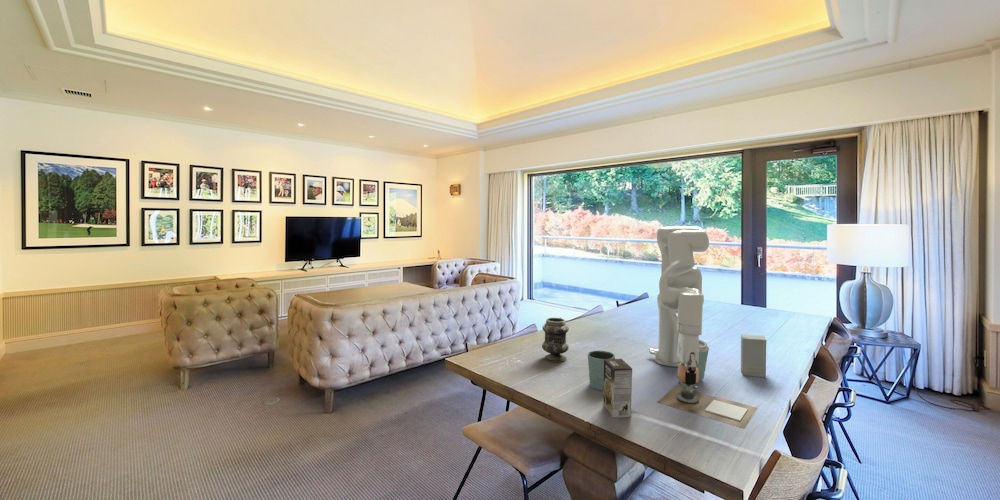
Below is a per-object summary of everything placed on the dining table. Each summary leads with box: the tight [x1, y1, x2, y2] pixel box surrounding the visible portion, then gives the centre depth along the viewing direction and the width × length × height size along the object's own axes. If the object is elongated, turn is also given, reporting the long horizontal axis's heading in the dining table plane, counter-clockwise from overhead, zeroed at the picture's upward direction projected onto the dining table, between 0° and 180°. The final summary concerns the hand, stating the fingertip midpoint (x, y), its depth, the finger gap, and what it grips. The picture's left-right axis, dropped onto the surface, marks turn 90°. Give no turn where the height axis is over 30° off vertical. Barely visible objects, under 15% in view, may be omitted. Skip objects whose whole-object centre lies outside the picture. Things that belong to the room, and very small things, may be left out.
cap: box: [677, 363, 699, 383], centre depth 137 cm, size 6×6×5 cm
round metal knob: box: [676, 380, 699, 404], centre depth 138 cm, size 7×7×7 cm
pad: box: [705, 400, 748, 421], centre depth 130 cm, size 10×10×1 cm
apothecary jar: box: [541, 317, 570, 363], centre depth 182 cm, size 12×12×18 cm
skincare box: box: [740, 333, 768, 378], centre depth 162 cm, size 8×7×16 cm
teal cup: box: [587, 350, 616, 391], centre depth 152 cm, size 10×10×12 cm
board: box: [656, 385, 758, 430], centre depth 134 cm, size 26×18×1 cm
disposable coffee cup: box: [682, 339, 710, 382], centre depth 157 cm, size 11×11×15 cm
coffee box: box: [602, 358, 633, 418], centre depth 132 cm, size 9×6×16 cm
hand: (687, 379), depth 138 cm, fingers closed on cap, 6 cm apart
